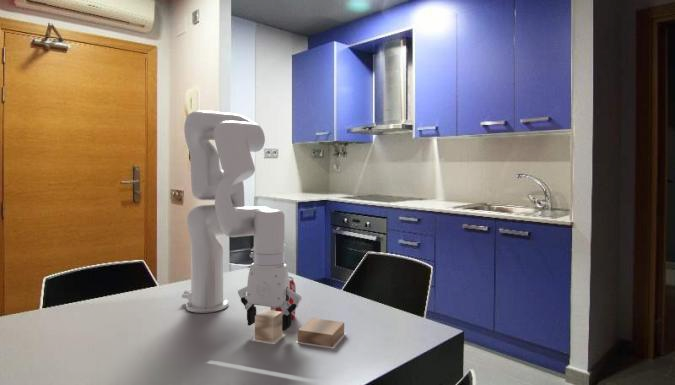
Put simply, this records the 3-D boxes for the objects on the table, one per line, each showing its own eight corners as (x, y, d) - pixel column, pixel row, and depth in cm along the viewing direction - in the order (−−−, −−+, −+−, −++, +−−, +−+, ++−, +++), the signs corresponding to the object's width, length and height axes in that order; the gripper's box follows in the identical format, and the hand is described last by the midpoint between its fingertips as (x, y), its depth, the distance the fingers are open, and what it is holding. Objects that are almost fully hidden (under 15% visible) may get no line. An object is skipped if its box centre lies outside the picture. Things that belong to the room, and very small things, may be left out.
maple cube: (254, 339, 105) (254, 315, 105) (264, 332, 110) (264, 309, 110) (272, 342, 104) (272, 318, 103) (282, 334, 108) (282, 311, 108)
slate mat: (249, 344, 104) (249, 341, 104) (274, 325, 117) (274, 322, 117) (328, 357, 97) (328, 354, 97) (346, 335, 110) (346, 333, 110)
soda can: (291, 325, 117) (291, 282, 116) (266, 323, 118) (266, 281, 117) (298, 317, 124) (298, 276, 123) (275, 315, 125) (275, 274, 124)
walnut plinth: (297, 341, 104) (297, 329, 104) (311, 329, 113) (312, 317, 112) (332, 347, 101) (332, 335, 101) (344, 333, 110) (344, 322, 109)
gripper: (230, 259, 105) (230, 326, 106) (294, 265, 99) (293, 336, 100) (246, 253, 112) (246, 317, 113) (307, 258, 106) (306, 325, 107)
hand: (268, 326), depth 106 cm, fingers open, 9 cm apart
